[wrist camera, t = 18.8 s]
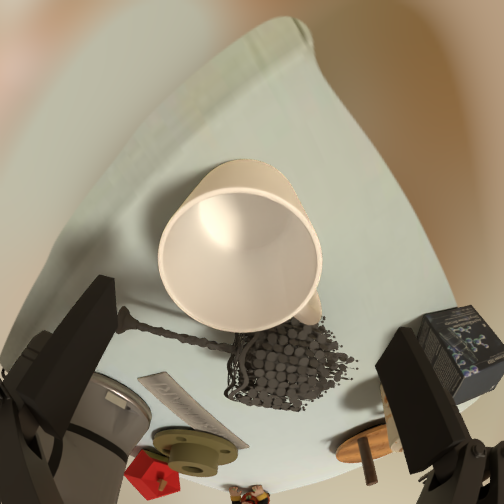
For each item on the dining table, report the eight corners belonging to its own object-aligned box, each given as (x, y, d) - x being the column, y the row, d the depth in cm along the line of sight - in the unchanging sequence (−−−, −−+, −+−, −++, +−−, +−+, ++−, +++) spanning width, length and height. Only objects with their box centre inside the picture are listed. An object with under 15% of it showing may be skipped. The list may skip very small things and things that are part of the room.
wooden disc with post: (335, 436, 38) (344, 488, 29) (423, 410, 36) (441, 456, 27) (335, 465, 44) (341, 505, 35) (406, 445, 42) (417, 482, 34)
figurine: (269, 477, 58) (254, 488, 46) (277, 505, 53) (264, 522, 41) (236, 482, 59) (214, 493, 47) (244, 510, 54) (224, 525, 42)
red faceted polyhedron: (166, 447, 52) (186, 449, 42) (174, 492, 45) (197, 505, 36) (116, 447, 46) (123, 450, 36) (124, 495, 39) (134, 510, 30)
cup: (247, 135, 21) (240, 148, 12) (342, 240, 24) (385, 311, 15) (175, 206, 23) (128, 265, 14) (271, 295, 27) (278, 380, 18)
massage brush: (118, 376, 24) (142, 294, 30) (327, 416, 26) (333, 337, 32) (88, 358, 17) (128, 248, 22) (378, 411, 19) (379, 307, 24)
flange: (219, 454, 33) (132, 450, 35) (247, 481, 40) (173, 479, 41) (221, 428, 37) (138, 428, 39) (247, 460, 44) (176, 461, 46)
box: (470, 302, 28) (514, 357, 18) (458, 336, 30) (493, 391, 21) (423, 312, 28) (465, 378, 19) (412, 348, 31) (444, 412, 21)
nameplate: (249, 447, 41) (224, 451, 42) (249, 446, 42) (224, 450, 43) (165, 373, 32) (137, 379, 33) (165, 371, 32) (137, 378, 33)
